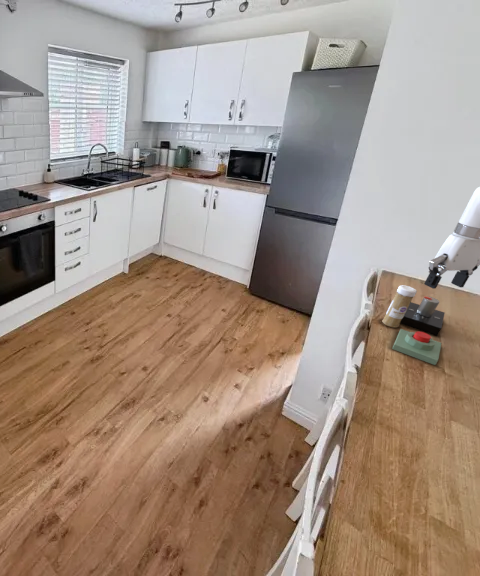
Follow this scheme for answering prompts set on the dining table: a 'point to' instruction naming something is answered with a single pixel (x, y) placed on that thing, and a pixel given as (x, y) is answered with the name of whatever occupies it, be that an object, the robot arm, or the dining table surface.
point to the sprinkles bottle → (399, 306)
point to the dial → (427, 306)
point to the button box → (417, 347)
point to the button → (422, 337)
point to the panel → (423, 320)
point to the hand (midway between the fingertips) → (443, 285)
